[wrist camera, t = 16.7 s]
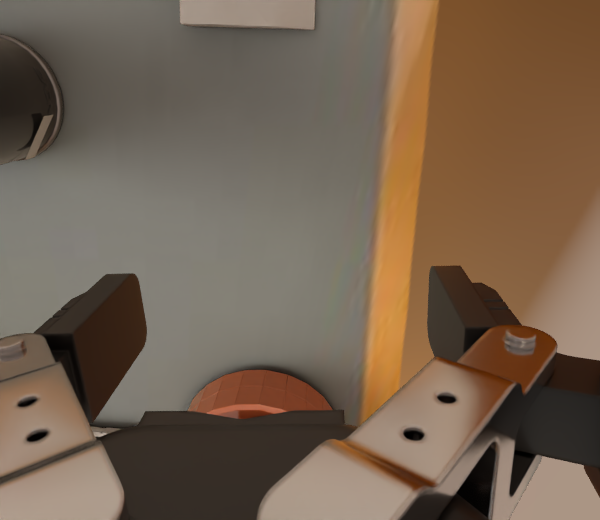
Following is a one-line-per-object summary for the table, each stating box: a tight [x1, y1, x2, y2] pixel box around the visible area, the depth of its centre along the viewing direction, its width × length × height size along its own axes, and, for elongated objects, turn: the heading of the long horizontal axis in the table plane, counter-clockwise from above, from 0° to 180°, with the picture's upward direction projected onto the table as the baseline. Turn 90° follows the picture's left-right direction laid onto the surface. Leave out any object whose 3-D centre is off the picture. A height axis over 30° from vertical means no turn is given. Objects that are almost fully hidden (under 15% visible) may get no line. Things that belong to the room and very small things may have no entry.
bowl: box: [187, 370, 333, 419], centre depth 47 cm, size 15×15×6 cm
